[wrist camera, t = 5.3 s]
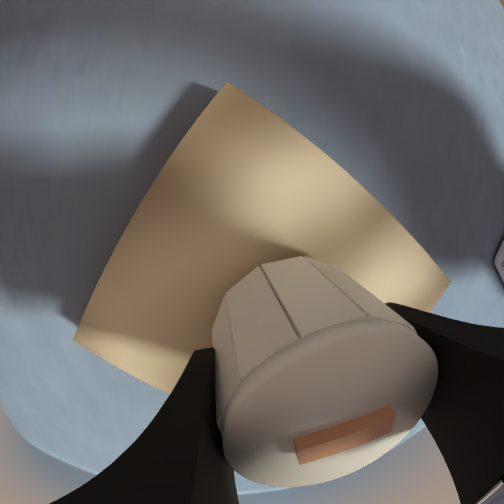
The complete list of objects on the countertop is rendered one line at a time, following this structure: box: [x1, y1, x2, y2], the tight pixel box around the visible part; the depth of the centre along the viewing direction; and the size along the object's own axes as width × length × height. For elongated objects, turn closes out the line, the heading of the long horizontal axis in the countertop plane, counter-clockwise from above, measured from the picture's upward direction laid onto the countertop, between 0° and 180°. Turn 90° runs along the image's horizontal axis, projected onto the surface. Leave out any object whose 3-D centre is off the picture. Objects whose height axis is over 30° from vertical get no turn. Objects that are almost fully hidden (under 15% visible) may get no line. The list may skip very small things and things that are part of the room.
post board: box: [73, 82, 451, 394], centre depth 10 cm, size 14×12×5 cm
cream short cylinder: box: [212, 256, 438, 487], centre depth 8 cm, size 6×6×5 cm
